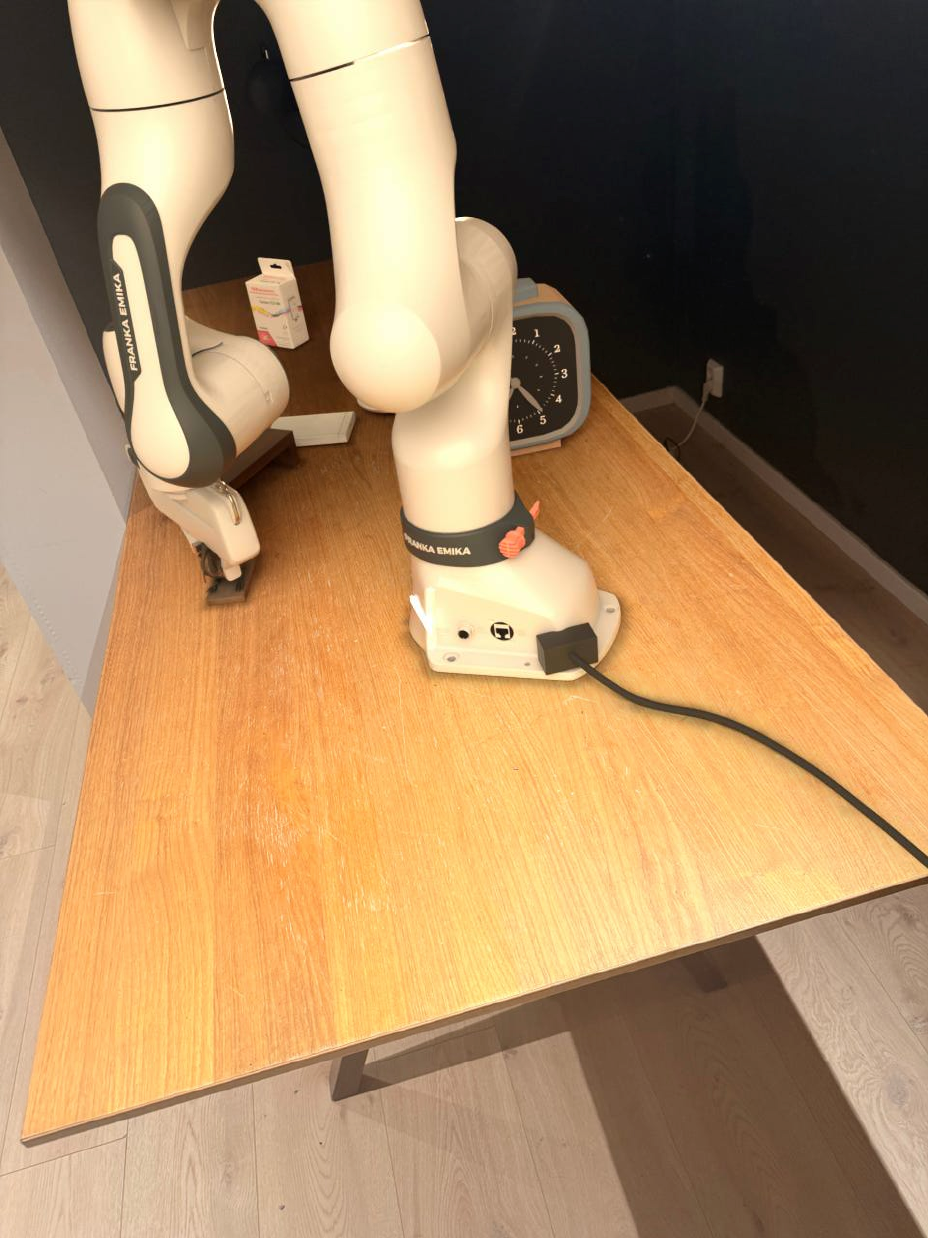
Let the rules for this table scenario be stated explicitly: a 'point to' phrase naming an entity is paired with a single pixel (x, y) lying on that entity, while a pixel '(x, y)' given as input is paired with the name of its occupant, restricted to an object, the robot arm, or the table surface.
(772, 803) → the table surface
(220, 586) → the figurine
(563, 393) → the alarm clock
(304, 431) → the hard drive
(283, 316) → the ink cartridge box
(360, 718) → the table surface
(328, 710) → the table surface
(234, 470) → the shelf
